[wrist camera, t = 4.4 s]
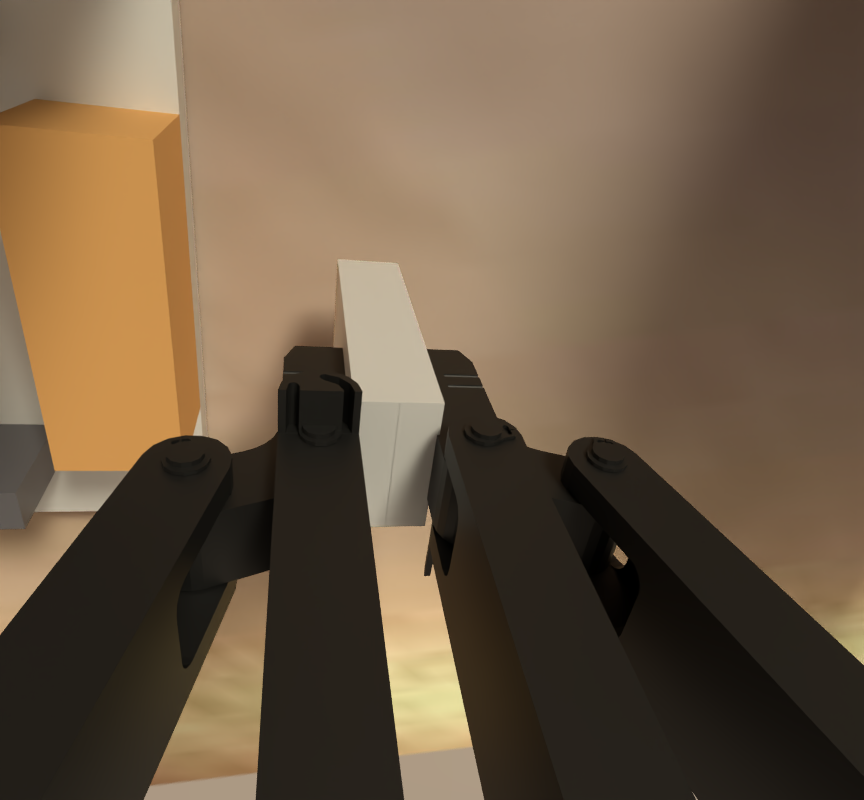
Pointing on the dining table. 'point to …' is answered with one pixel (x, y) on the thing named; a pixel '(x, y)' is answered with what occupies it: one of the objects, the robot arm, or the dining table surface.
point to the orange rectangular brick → (101, 276)
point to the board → (3, 335)
